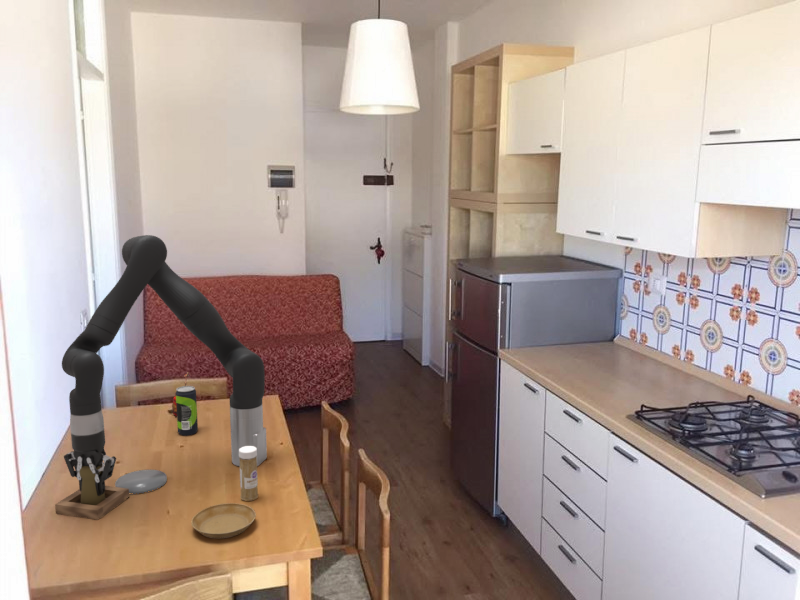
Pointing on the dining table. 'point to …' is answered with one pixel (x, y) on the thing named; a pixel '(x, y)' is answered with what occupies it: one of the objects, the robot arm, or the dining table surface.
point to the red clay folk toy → (175, 400)
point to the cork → (89, 487)
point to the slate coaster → (142, 481)
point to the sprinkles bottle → (248, 473)
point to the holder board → (75, 508)
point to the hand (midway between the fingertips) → (92, 493)
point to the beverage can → (186, 410)
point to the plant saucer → (223, 520)
